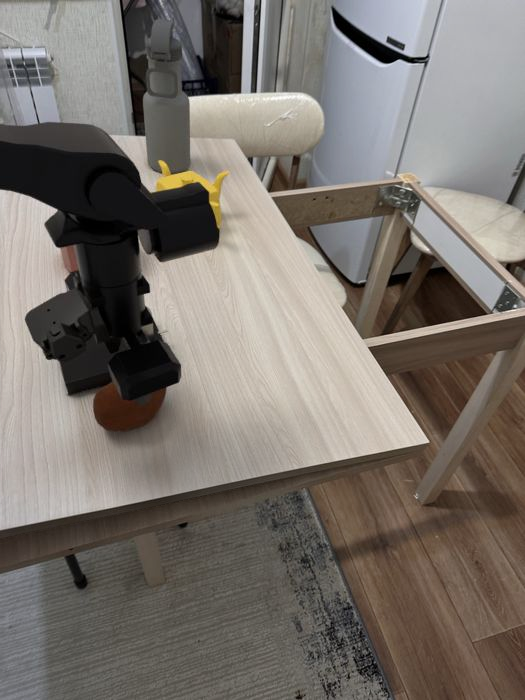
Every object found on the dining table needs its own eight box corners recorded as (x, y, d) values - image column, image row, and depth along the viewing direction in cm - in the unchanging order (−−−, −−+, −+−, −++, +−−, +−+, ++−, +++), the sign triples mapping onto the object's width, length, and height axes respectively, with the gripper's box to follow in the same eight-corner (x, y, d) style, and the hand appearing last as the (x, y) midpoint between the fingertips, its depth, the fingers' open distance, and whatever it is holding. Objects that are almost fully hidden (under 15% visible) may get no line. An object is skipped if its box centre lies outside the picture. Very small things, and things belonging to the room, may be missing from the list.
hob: (68, 395, 64) (64, 382, 62) (56, 345, 70) (52, 331, 68) (178, 366, 69) (178, 353, 67) (158, 322, 75) (157, 309, 73)
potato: (90, 405, 63) (82, 372, 58) (160, 385, 66) (157, 352, 62) (103, 447, 59) (95, 415, 54) (176, 424, 62) (175, 392, 58)
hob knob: (157, 343, 68) (155, 318, 65) (129, 350, 67) (125, 324, 64) (149, 325, 71) (146, 300, 67) (121, 331, 69) (118, 306, 66)
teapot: (161, 200, 101) (158, 154, 94) (228, 209, 101) (230, 164, 94) (142, 238, 91) (138, 190, 84) (217, 248, 91) (218, 201, 84)
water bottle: (187, 177, 109) (185, 33, 90) (144, 173, 109) (132, 27, 89) (192, 157, 117) (191, 20, 97) (151, 153, 116) (141, 14, 96)
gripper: (-1, 238, 48) (36, 348, 59) (51, 360, 38) (84, 466, 49) (109, 216, 53) (124, 321, 64) (182, 319, 42) (185, 424, 54)
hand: (127, 377), depth 57 cm, fingers open, 9 cm apart
